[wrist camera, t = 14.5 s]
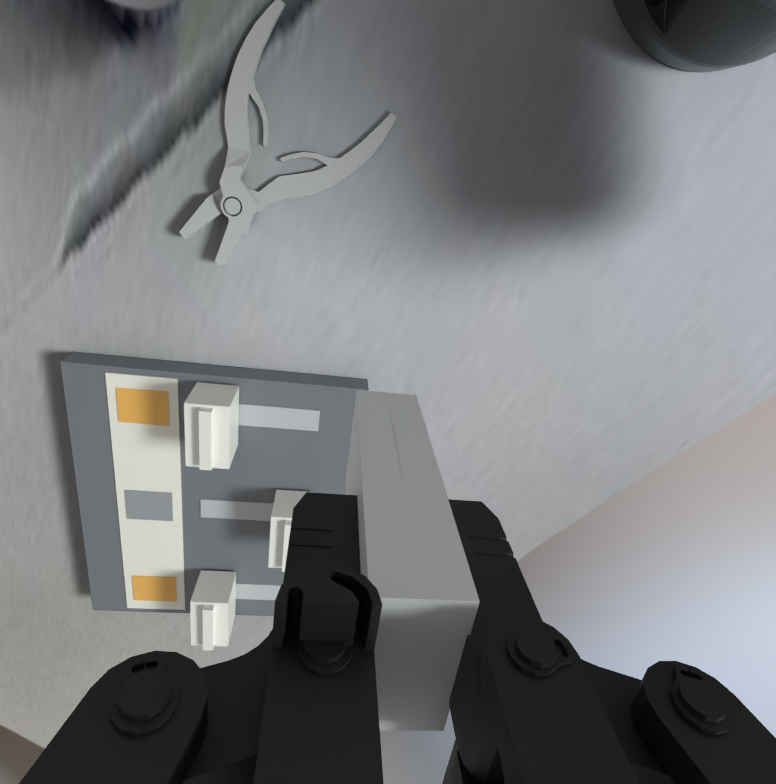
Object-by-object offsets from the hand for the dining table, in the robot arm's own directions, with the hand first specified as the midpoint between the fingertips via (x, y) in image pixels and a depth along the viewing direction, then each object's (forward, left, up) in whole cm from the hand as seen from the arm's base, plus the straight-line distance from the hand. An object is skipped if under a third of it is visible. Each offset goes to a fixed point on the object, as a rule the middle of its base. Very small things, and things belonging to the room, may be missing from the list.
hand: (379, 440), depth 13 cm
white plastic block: (+9, +30, -24) cm, 40 cm away
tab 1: (+9, +12, -24) cm, 29 cm away
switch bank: (+9, +22, -26) cm, 35 cm away
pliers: (+6, -6, -27) cm, 28 cm away
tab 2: (+3, +21, -24) cm, 32 cm away
